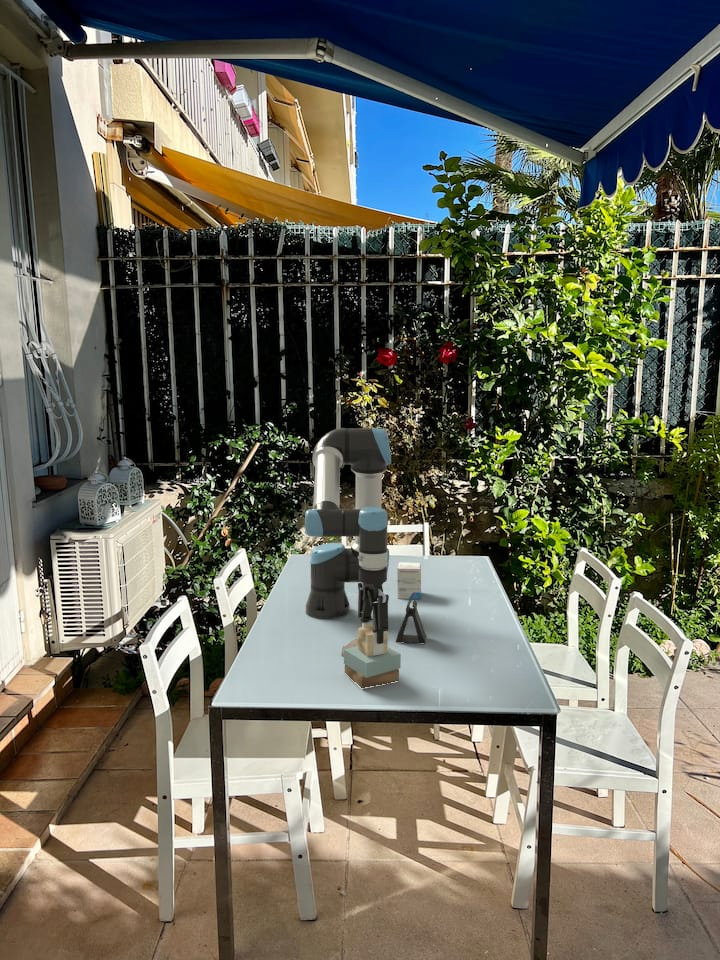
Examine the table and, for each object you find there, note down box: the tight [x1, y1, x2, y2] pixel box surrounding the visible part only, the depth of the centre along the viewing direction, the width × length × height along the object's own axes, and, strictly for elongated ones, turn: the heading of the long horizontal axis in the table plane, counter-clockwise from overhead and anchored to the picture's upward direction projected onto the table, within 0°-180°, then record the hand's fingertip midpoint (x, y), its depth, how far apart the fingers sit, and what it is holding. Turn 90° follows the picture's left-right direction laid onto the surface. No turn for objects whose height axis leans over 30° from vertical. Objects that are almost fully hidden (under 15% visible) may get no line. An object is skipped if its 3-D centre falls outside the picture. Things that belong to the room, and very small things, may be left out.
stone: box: [340, 638, 358, 658], centre depth 211 cm, size 12×12×3 cm
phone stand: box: [395, 599, 427, 644], centre depth 219 cm, size 9×6×12 cm, turn 80°
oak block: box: [357, 624, 389, 657], centre depth 192 cm, size 6×6×6 cm
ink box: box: [396, 562, 422, 600], centre depth 262 cm, size 9×8×12 cm
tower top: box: [343, 646, 402, 678], centre depth 192 cm, size 11×11×4 cm
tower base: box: [344, 664, 400, 688], centre depth 193 cm, size 11×11×4 cm
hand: (372, 649), depth 192 cm, fingers closed on oak block, 6 cm apart
